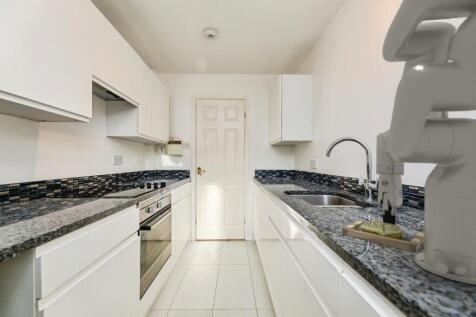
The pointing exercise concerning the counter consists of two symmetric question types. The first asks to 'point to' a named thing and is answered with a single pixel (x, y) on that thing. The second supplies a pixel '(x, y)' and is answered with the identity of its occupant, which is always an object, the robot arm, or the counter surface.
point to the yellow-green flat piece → (382, 229)
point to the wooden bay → (383, 238)
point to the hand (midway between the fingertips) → (389, 226)
